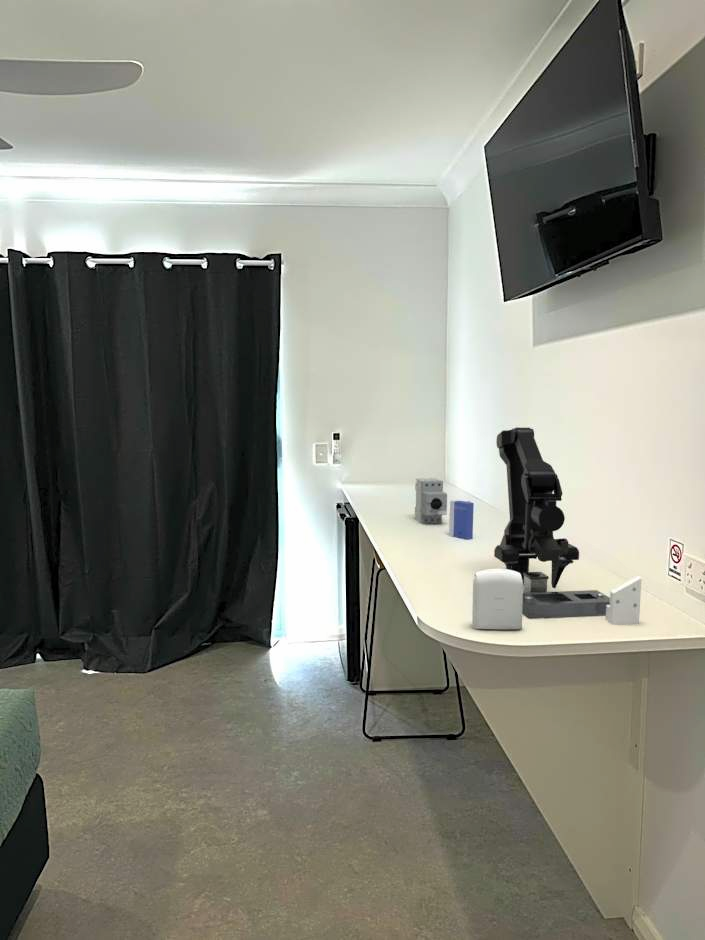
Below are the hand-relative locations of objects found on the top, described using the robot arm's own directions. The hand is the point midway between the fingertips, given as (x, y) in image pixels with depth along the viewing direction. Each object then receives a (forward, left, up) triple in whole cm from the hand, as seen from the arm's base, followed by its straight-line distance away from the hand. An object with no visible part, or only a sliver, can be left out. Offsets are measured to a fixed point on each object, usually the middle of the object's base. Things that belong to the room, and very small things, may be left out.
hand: (535, 588), depth 177 cm
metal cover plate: (+9, +3, -2) cm, 10 cm away
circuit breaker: (-94, +1, -3) cm, 94 cm away
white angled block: (+18, +12, -3) cm, 22 cm away
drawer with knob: (0, 0, -3) cm, 3 cm away
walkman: (-69, +4, -3) cm, 69 cm away
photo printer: (+18, -16, -3) cm, 24 cm away
